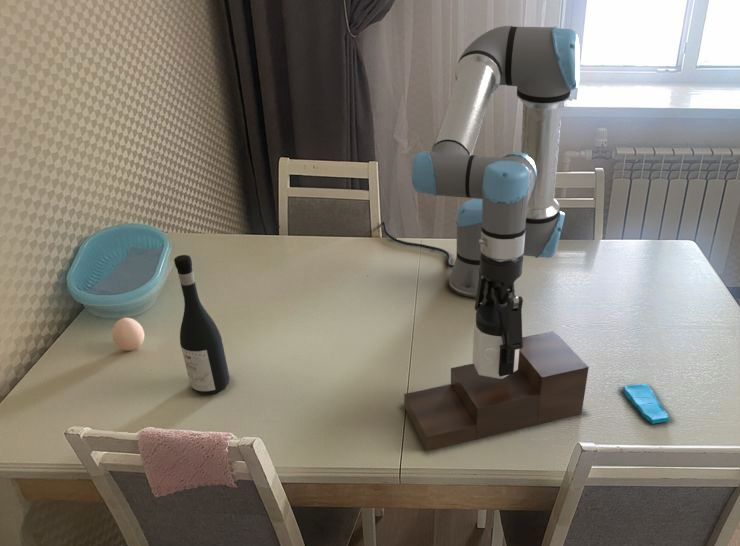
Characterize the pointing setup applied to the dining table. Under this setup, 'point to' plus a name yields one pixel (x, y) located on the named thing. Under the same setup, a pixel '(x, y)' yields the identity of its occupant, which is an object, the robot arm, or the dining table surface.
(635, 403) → the sponge
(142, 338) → the egg
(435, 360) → the dining table surface
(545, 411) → the step shelf
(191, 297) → the wine bottle
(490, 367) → the jar
